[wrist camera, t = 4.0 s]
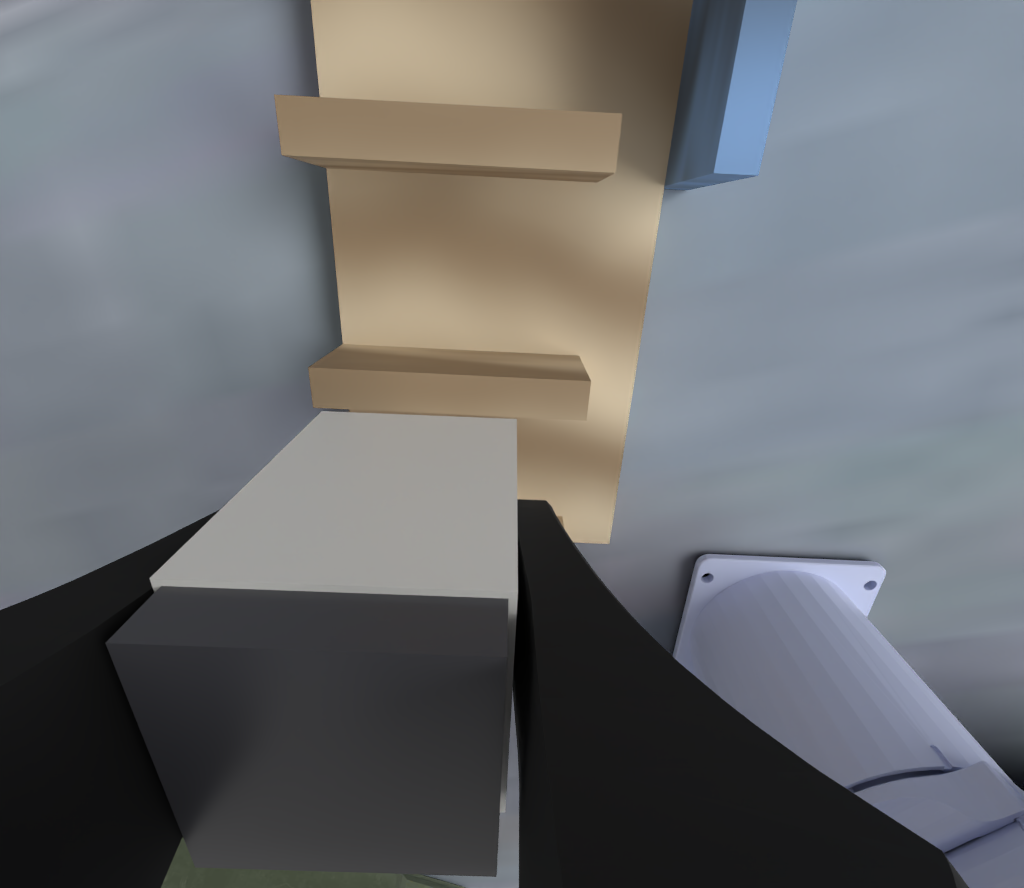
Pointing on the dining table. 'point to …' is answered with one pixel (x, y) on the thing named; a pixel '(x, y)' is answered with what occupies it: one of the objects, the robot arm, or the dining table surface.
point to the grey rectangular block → (341, 653)
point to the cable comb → (520, 204)
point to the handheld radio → (285, 877)
